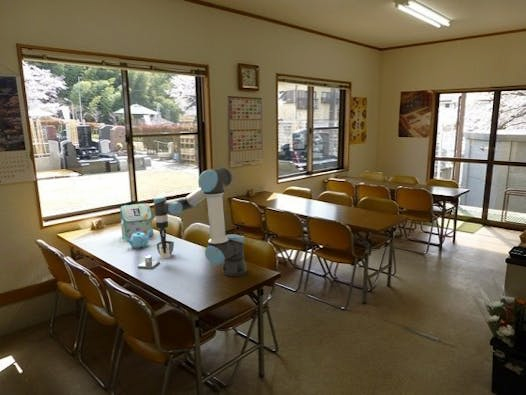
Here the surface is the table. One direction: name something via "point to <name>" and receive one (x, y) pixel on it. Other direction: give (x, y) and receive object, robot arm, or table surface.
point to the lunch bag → (135, 220)
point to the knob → (167, 250)
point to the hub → (148, 263)
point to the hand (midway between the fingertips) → (164, 255)
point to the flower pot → (171, 245)
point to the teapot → (138, 240)
